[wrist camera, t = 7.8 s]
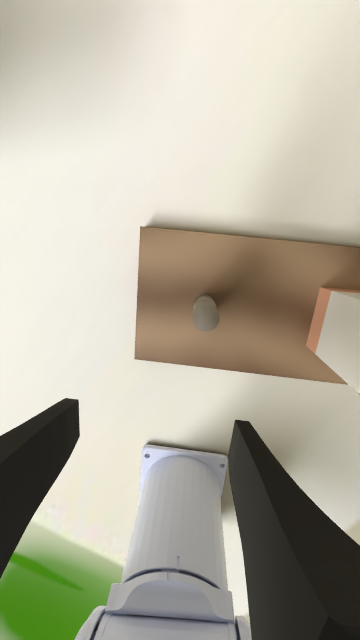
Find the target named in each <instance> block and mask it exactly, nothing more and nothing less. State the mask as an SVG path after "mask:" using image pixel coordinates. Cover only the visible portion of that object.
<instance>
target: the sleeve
mask: <svg viewBox="0 0 360 640" xmlns="http://www.w3.org/2000/svg"><path fill="white" fill-rule="evenodd" d="M306 346H307V347H308V348H309V349H310V350H311V351H312V352H313V353H315V354H316V355H317V356H318V357H319V358H320V359H321V360H322V361H323V362H324V363H326V364H327V365H328V366H329V367H330V368H331V369H332V370H333V371H334V372H335V373H337V374H338V375H339V376H340V377H341V378H342V379H343V380H344V381H345V382H346V383H348V384H349V385H350V386H351V387H352V388H353V389H354V390H355V391H356V392H357V393H359V394H360V290H348V289H336V288H324V287H320V290H319V294H318V298H317V302H316V306H315V310H314V314H313V319H312V323H311V327H310V331H309V335H308V339H307V343H306Z"/></svg>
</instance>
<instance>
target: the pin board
mask: <svg viewBox="0 0 360 640" xmlns="http://www.w3.org/2000/svg"><path fill="white" fill-rule="evenodd" d="M320 287H324V288H336V289H348V290H360V248H359V247H349V246H339V245H328V244H318V243H307V242H297V241H287V240H276V239H266V238H256V237H245V236H235V235H225V234H214V233H204V232H193V231H183V230H173V229H162V228H152V227H142V226H140V246H139V269H138V292H137V314H136V337H135V359H138V360H146V361H155V362H163V363H171V364H180V365H188V366H197V367H205V368H213V369H222V370H230V371H239V372H247V373H255V374H264V375H272V376H281V377H289V378H297V379H306V380H314V381H322V382H331V383H339V384H348V383H346V382H345V381H344V380H343V379H342V378H341V377H340V376H339V375H338V374H337V373H335V372H334V371H333V370H332V369H331V368H330V367H329V366H328V365H327V364H326V363H324V362H323V361H322V360H321V359H320V358H319V357H318V356H317V355H316V354H315V353H313V352H312V351H311V350H310V349H309V348H308V347H307V346H306V343H307V339H308V335H309V331H310V327H311V323H312V319H313V314H314V310H315V306H316V302H317V298H318V294H319V290H320ZM348 385H349V384H348Z"/></svg>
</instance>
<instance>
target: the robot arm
mask: <svg viewBox="0 0 360 640" xmlns="http://www.w3.org/2000/svg"><path fill="white" fill-rule="evenodd" d="M79 436H80V433H79V402H78V400H76V399H68V398H65V399H63V400H61V401H60V402H58V403H56V404H55V405H53V406H51V407H50V408H48V409H46V410H45V411H43V412H41V413H40V414H38V415H36V416H35V417H33V418H31V419H30V420H28V421H26V422H25V423H23V424H21V425H19V426H18V427H16V428H14V429H12V430H10V431H9V432H7V433H5V434H3V435H1V436H0V578H1V576H2V574H3V572H4V570H5V568H6V566H7V564H8V562H9V560H10V558H11V556H12V554H13V552H14V550H15V548H16V546H17V545H18V543H19V541H20V539H21V537H22V535H23V533H24V531H25V529H26V527H27V526H28V524H29V522H30V520H31V519H32V517H33V515H34V513H35V512H36V510H37V509H38V507H39V505H40V504H41V502H42V501H43V499H44V497H45V496H46V494H47V493H48V491H49V490H50V488H51V486H52V485H53V483H54V482H55V480H56V479H57V477H58V475H59V474H60V472H61V471H62V469H63V467H64V466H65V464H66V462H67V461H68V459H69V457H70V455H71V453H72V451H73V449H74V447H75V445H76V443H77V441H78V439H79ZM147 454H149V455H147ZM228 460H229V474H230V483H231V489H232V494H233V500H234V505H235V510H236V516H237V521H238V527H239V532H240V537H241V543H242V550H243V556H244V566H245V575H246V585H247V594H248V605H249V616H250V625H251V627H250V625H249V624H248V621H247V619H246V618H245V617H243V616H236V618H235V621H234V611H233V601H232V593H231V591H228V584H227V572H226V561H225V549H224V538H223V527H222V515H221V504H220V502H221V497H222V492H223V486H224V481H225V476H226V471H227V466H228ZM221 464H223V465H221ZM234 622H235V623H234ZM75 640H360V546H359V545H358V544H357V543H356V542H355V541H354V540H353V539H351V538H350V537H349V536H348V535H347V534H346V533H345V532H344V531H343V530H342V529H341V528H340V527H338V526H337V525H336V524H335V523H334V522H333V521H332V520H331V519H330V518H329V517H328V516H327V515H326V514H325V513H324V512H323V511H322V510H321V509H320V508H319V507H318V506H317V505H316V504H315V503H314V502H313V501H312V500H311V499H310V498H309V497H308V496H307V495H306V494H305V493H304V492H303V491H302V489H301V488H300V487H299V486H298V485H297V484H296V483H295V482H294V480H293V479H292V478H291V477H290V476H289V474H288V473H287V472H286V471H285V470H284V468H283V467H282V466H281V465H280V463H279V462H278V461H277V459H276V458H275V457H274V456H273V454H272V453H271V452H270V450H269V449H268V448H267V446H266V445H265V443H264V442H263V441H262V439H261V438H260V436H259V435H258V434H257V432H256V431H255V429H254V428H253V426H252V425H251V424H250V422H249V421H241V420H235V423H234V429H233V434H232V439H231V444H230V449H229V455H228V457H227V456H226V455H223V454H216V453H208V452H201V451H193V450H186V449H178V448H171V447H163V446H156V445H144V446H143V450H142V462H141V478H140V495H139V505H138V510H137V514H136V518H135V523H134V527H133V531H132V536H131V540H130V544H129V549H128V553H127V557H126V562H125V566H124V570H123V575H122V579H121V583H113V584H112V587H111V590H110V594H109V597H108V601H107V605H106V606H99V607H97V608H95V609H94V611H93V612H92V613H91V615H90V616H89V618H88V619H87V620H86V622H85V623H84V624H83V625H82V627H81V629H80V630H79V632H78V634H77V636H76V638H75Z"/></svg>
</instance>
